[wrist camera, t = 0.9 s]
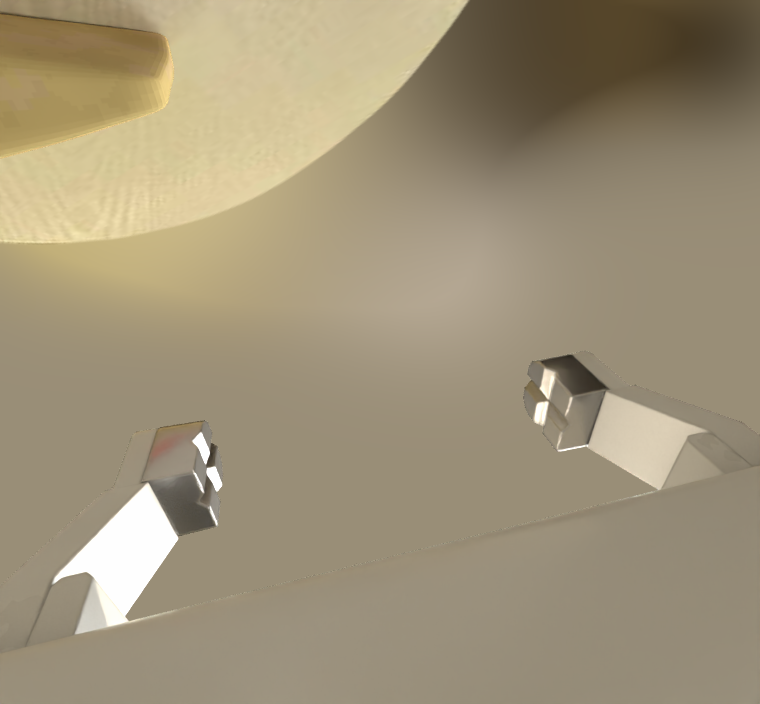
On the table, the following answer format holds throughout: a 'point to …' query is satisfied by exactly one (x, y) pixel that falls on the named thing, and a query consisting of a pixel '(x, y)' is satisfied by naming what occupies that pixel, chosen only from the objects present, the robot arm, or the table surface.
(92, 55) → the cheese
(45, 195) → the table surface
